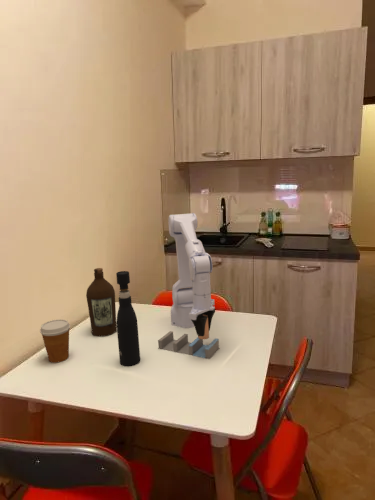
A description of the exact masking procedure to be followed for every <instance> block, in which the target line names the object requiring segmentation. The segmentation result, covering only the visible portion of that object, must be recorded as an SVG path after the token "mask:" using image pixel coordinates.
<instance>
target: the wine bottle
mask: <svg viewBox="0 0 375 500" xmlns="http://www.w3.org/2000/svg"><path fill="white" fill-rule="evenodd" d="M115 275H116V284H117V285H119V293H118V296H119V297H118V305H119V306H118V311H117V312H116V326H117V330H116V333H117V342H118V343H117V345H118V354H119V355H118V356H119V364H120V365H121V366H122V367H134V366H137V365H139V364H140V362H141V352H140V349H141V348H140V339H139V326H138V318H137V315H136V311H135V309H134V307H133V305H132V296H131V294H130V293H131V292H130V290H129V284H130V283H131V280H130V271H127V270H122V271H117V272H116V274H115Z"/></svg>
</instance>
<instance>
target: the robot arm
mask: <svg viewBox="0 0 375 500" xmlns="http://www.w3.org/2000/svg"><path fill="white" fill-rule="evenodd" d="M167 221H168V233H169V235H170V237H172V238H173V239H174V241H175V249H176V262H177V273H178V280H177V281H176V282H175V283H174V284H173V285H172V287H171V289H172V292H171V295H172V296H171V298H172V305H171V309H170V324H171V326H174V327H178V328H182V329H190V328H192V329H193V328H194V329H195V331H196V335H197V337H198V336H204V334H205V324H206V320H207V318H208V327H209V331H210V330H211V325H212V320H213V317H214V315H215V313H216V309H215V308H216V307H215V305H216V304H215V299H213V298H212V290H211V289H212V287H211V273H212V272H213V267H214V266H213V260H212V256H211V255H210V254H209V253H208V252H206V250H205V247H204V246H203V242H202V241H201V240H200V239H198V238H197V234H196V231H197V228H198V216H197V214H196V213H195V212H190V213H181V214H180V213H179V214H178V213H177V214H169V215H168V220H167ZM203 315H207V316H203Z"/></svg>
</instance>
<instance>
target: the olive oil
mask: <svg viewBox="0 0 375 500" xmlns="http://www.w3.org/2000/svg"><path fill="white" fill-rule="evenodd" d="M93 271H94V273H93V276H94V279H93V281H92V282H91V283H90V284H89V286H88V287H87V289H86V296H85V297H86V303H87V308H88V314H89V321H90V329H91V333H92V335H93V336H95V337H107V336H111V335H113V334H115V333H117V324H116V322H117V311H116V291H115V288H114V286H113V284H111V283H110V282H109V281H108V280H107V279H105V278H104V277H105V276H104V270H103V267H97V268H94V269H93Z"/></svg>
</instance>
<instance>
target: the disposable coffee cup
mask: <svg viewBox="0 0 375 500" xmlns="http://www.w3.org/2000/svg"><path fill="white" fill-rule="evenodd" d="M70 328H71V324H70V323H69V321H68V320H66V319H52V320H49V321H46V322H44V323H42V324H41V326H40V328H39V332H40V334H41V336H42V340H43V342H44V347H45V351H46V355H47V358H48V361H49V362H50V363H55V364H57V363H60V362H64V361H66V360H68V359H69V357H70V353H69V352H70V351H69V350H70V348H69V347H70Z"/></svg>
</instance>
